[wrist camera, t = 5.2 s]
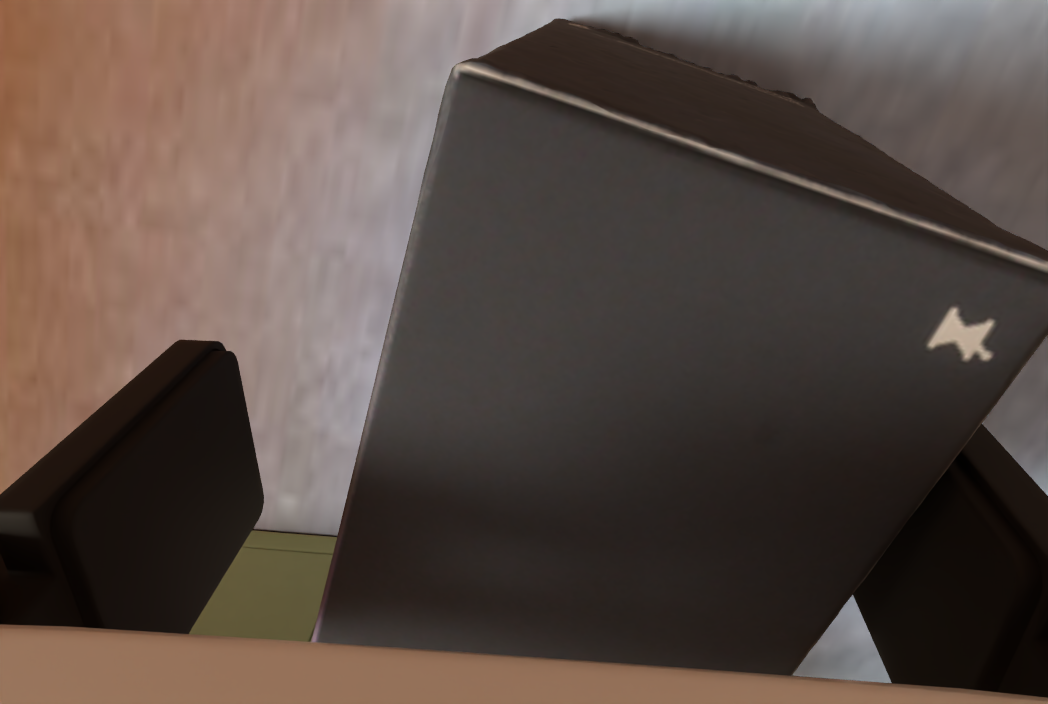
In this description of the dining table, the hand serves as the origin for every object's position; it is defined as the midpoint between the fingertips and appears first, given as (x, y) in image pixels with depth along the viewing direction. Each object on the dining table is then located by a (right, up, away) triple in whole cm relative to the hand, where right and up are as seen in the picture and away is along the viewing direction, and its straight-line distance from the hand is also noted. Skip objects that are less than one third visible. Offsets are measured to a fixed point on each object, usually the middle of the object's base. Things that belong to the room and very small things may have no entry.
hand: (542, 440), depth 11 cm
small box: (+1, +3, +7) cm, 8 cm away
